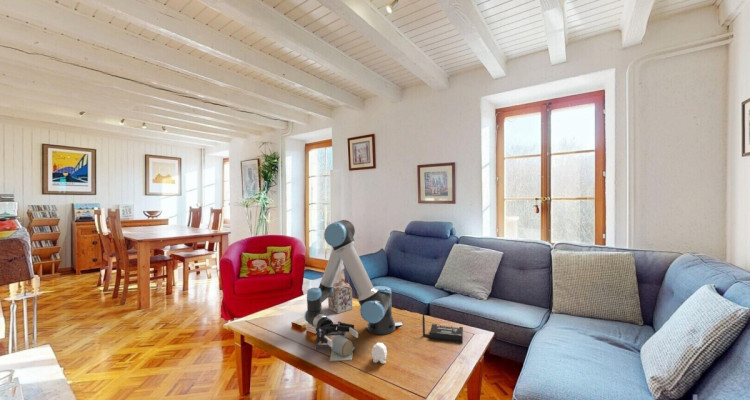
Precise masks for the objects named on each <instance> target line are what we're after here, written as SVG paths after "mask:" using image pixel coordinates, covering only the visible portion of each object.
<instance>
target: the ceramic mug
mask: <svg viewBox="0 0 750 400" xmlns="http://www.w3.org/2000/svg"><path fill="white" fill-rule="evenodd" d="M331 340H332V342H333V347H331V352H332V351H333V352H336V353H338V354H340V355H342V356H348V355H349V354H350V353H351V351H352V350H353V351H354V350H355V345H354V344H353V342H352V341H351V340H350V339H348V338H347V337H346V338H345V337H344V335H343V336H342V334H335V336H334V337H333V338H332V339H331Z"/></svg>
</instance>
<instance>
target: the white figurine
mask: <svg viewBox="0 0 750 400" xmlns="http://www.w3.org/2000/svg"><path fill="white" fill-rule="evenodd" d="M387 355H388V350H387V346H386V345H385V344H384V343H383V342H376V343H375V344H373V347H372V349H371V357H372V359H373V360H372V362H373V363H375V364H377V363H378V362H380V363H381V364H382V365H383V364H387V361H386V360H387Z"/></svg>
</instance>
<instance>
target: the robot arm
mask: <svg viewBox="0 0 750 400" xmlns="http://www.w3.org/2000/svg"><path fill="white" fill-rule="evenodd" d="M355 231H356V229H355V226H354V224H353V222H351V221H349V220H346V219H342V220H339V221H334V222H332V223H330V224H328V225H327V226H326V228H325V230H324V233H323V234H324V235H323V238H324V241H325V242H326V243H327V244H328V245H329V246H331V247H332V250H331V253H330V256H329V257H328V260H327V264H326V266H325V269H324V272H323V274H322V278H321V280H320V282H319V286H318V287H310V288H308V289H307V291H306V306H307V310H306V311H305V313H304V319H305V321H306V323H308V324H309V326H310V325H311V326H312V327H313V328H314V329H315V335H316V343H317V342H320V343H321V344H325V345H329V346H330V347H333V342H332V340H333V339H332V338H329V337H328V335H327V334H328V333H331V332H338V331H343V332H347V333H349V334H350V335H352V336H353V337H354V338H357V339H358V338H359V332H358V330H356V329H355V324H350V323H346V322H342V321H338V322H337V323H334V322H333V320H332V319H330V318H329V317H327V316H326V315H325V314H323V313H322V310H323V309H322V306H323V305H322V303H323V302H324V301H326V300H328V297H329V296H330V295H331V294H332V292H333V285H334V283H336V282H335V281H336V279H337V277H338V274H339V270H340V268H341V265H342V263H343V265H344V267H345V269H346V272H347V274H348V275H349V278H350V279H351V282H352V284H353V286H354V288H355V290H356V292H357V295H358V296H357V297H358V298H357V301H358V303H359V306H360V309H359V313H360V316H361V318H362V319H363V320H364V321H365V322H367V330H368V332H369V333H371V334H374V335H388V334H391V333H393V332H395V330H396V322H395V320H394V317H393V313H392V311H393V310H392V308H393V307H392V305H393V304H392V303H393V302H392V288H390V287H389V286H384V285H376V286H374V285H373V282H372V281H371V279H370V276H369V274H368V272H367V270H366V268H365V266H364V264H363V262H362V260H361V258H360V256H359V254H358V251H357V250H356V248H355V239H354V238H355V237H354V236H355V234H356V233H355ZM320 332H321V333H322V335H321V337H320Z"/></svg>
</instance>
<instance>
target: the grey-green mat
mask: <svg viewBox="0 0 750 400" xmlns="http://www.w3.org/2000/svg"><path fill="white" fill-rule="evenodd" d="M353 351H354V350H352V351H351V353H350V354H349V355H348V356H342V355H340V354H338V353H336V352H333V351H332V350H331V353H330V358H329V362H333V361H335V362H337V361H338V362H339V361H352V360H353Z"/></svg>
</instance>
